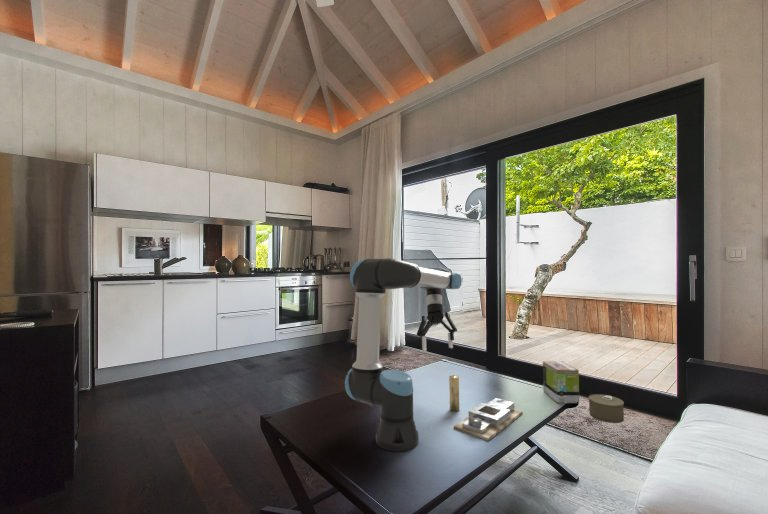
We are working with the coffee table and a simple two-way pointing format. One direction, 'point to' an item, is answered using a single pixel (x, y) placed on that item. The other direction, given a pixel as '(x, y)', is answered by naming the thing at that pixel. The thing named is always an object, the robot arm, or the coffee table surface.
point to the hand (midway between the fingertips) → (437, 349)
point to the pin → (454, 392)
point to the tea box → (561, 381)
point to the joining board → (493, 430)
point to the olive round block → (606, 408)
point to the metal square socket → (488, 415)
